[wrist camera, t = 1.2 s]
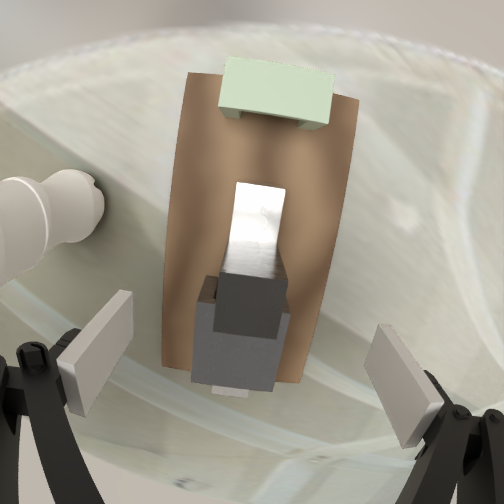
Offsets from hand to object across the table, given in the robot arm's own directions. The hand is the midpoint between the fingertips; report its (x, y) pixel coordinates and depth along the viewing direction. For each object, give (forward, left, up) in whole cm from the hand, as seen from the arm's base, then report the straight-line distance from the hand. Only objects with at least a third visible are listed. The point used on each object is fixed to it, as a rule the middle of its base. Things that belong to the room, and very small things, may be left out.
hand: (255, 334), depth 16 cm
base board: (0, +1, -16) cm, 16 cm away
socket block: (0, +14, -16) cm, 21 cm away
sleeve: (0, -7, -16) cm, 17 cm away
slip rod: (0, -4, -15) cm, 15 cm away
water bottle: (-18, +3, -16) cm, 25 cm away
